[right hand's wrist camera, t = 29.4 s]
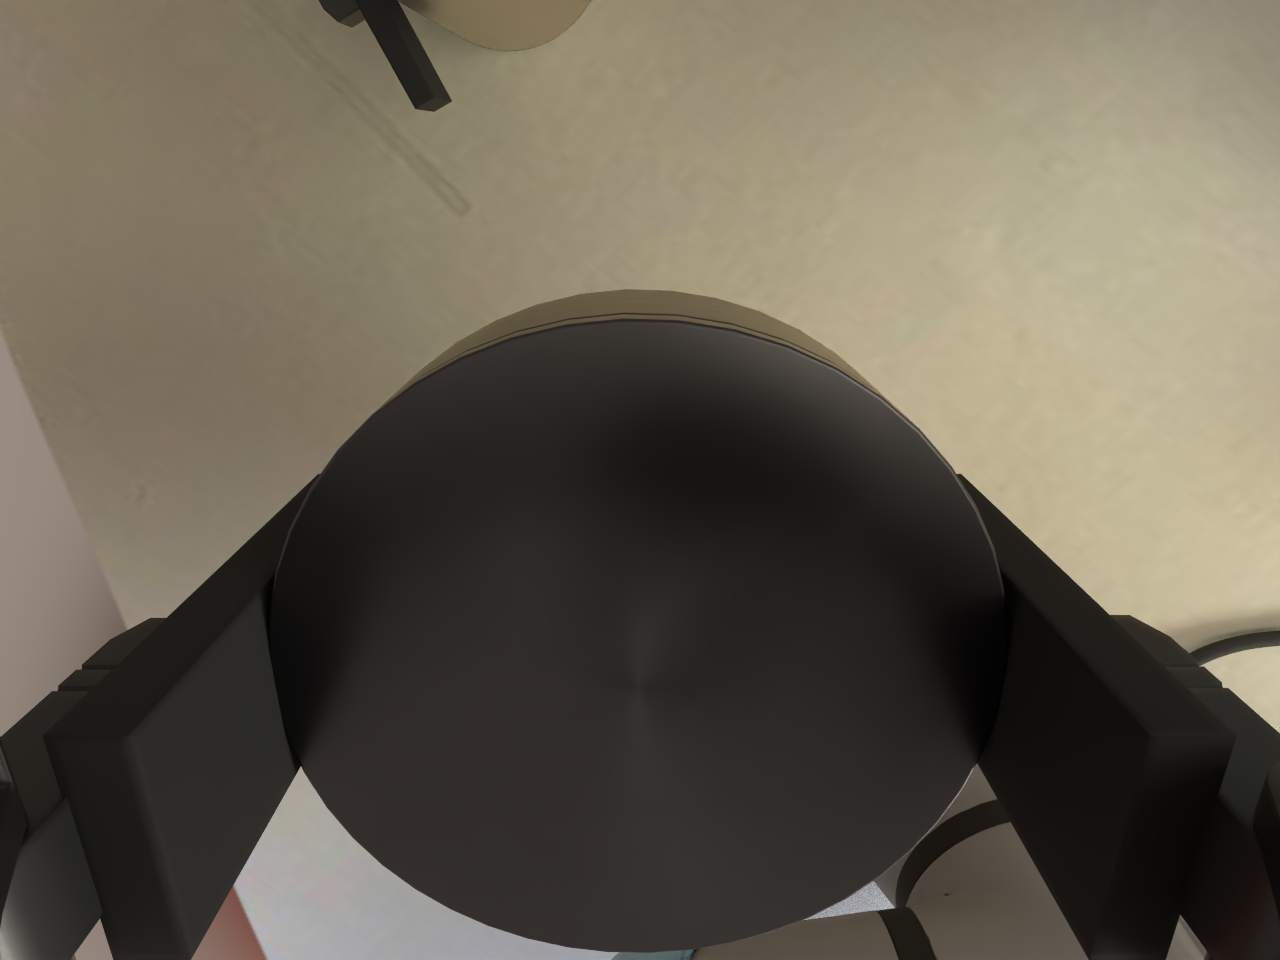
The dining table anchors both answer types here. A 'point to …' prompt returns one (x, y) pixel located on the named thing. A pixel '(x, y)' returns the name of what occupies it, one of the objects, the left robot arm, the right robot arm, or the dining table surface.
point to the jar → (502, 20)
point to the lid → (638, 627)
